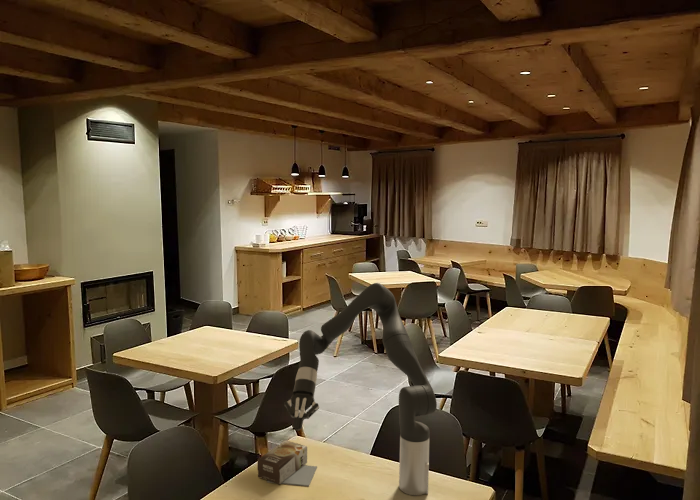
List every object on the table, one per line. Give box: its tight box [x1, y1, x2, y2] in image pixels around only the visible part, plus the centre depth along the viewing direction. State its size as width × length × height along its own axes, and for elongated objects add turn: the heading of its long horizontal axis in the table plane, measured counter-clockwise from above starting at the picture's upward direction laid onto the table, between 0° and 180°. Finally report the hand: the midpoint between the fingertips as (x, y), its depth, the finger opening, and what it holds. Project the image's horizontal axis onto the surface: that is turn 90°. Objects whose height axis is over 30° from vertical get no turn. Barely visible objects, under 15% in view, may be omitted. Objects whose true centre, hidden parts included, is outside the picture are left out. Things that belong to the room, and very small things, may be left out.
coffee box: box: [257, 439, 308, 485], centre depth 175 cm, size 9×6×16 cm
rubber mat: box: [266, 464, 318, 487], centre depth 174 cm, size 14×12×1 cm
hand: (297, 429), depth 178 cm, fingers closed
